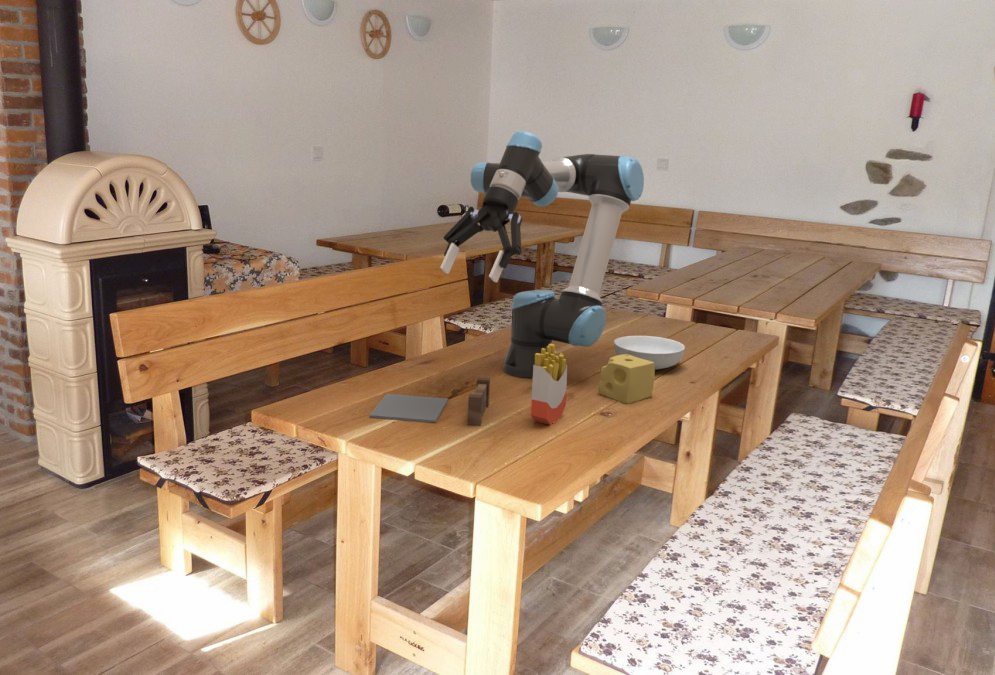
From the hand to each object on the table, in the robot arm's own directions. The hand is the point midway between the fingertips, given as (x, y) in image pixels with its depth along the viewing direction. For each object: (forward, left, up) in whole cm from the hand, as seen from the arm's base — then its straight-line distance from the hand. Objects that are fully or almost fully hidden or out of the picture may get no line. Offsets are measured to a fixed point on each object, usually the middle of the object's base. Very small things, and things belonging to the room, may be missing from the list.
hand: (468, 275), depth 184 cm
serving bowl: (-62, +45, -36) cm, 85 cm away
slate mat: (-9, -15, -36) cm, 40 cm away
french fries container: (-9, +19, -36) cm, 42 cm away
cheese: (-32, +38, -36) cm, 62 cm away
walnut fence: (-9, +2, -36) cm, 37 cm away
